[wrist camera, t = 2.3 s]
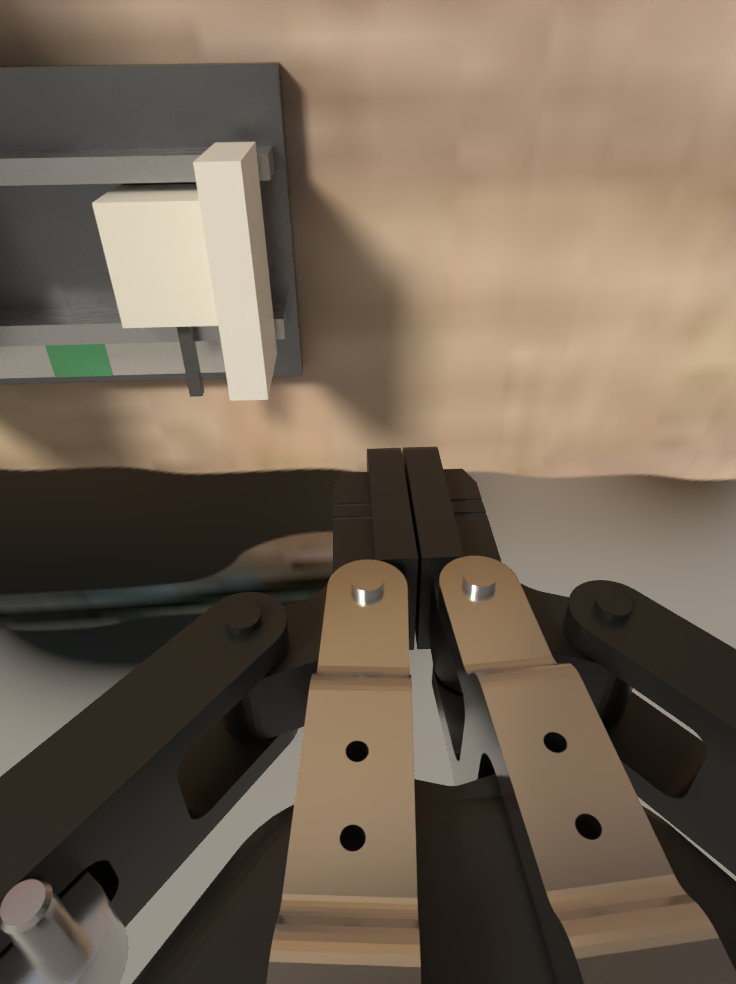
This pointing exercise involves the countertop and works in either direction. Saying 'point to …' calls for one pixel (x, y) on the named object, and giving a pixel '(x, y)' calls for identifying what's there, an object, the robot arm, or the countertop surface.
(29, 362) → the frame
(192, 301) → the cream t-shaped handle
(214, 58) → the countertop surface
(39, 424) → the countertop surface
